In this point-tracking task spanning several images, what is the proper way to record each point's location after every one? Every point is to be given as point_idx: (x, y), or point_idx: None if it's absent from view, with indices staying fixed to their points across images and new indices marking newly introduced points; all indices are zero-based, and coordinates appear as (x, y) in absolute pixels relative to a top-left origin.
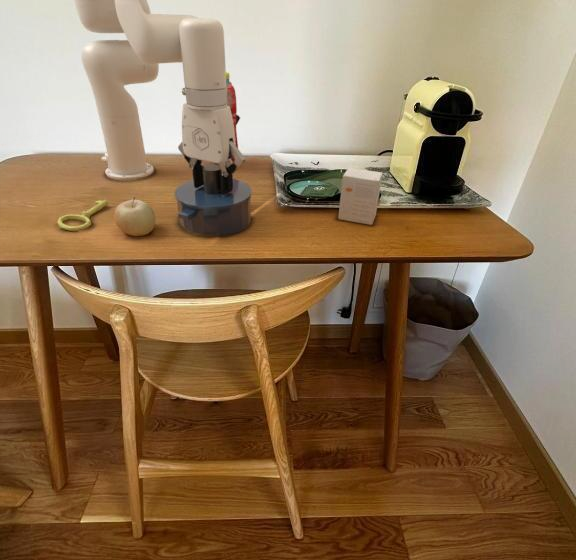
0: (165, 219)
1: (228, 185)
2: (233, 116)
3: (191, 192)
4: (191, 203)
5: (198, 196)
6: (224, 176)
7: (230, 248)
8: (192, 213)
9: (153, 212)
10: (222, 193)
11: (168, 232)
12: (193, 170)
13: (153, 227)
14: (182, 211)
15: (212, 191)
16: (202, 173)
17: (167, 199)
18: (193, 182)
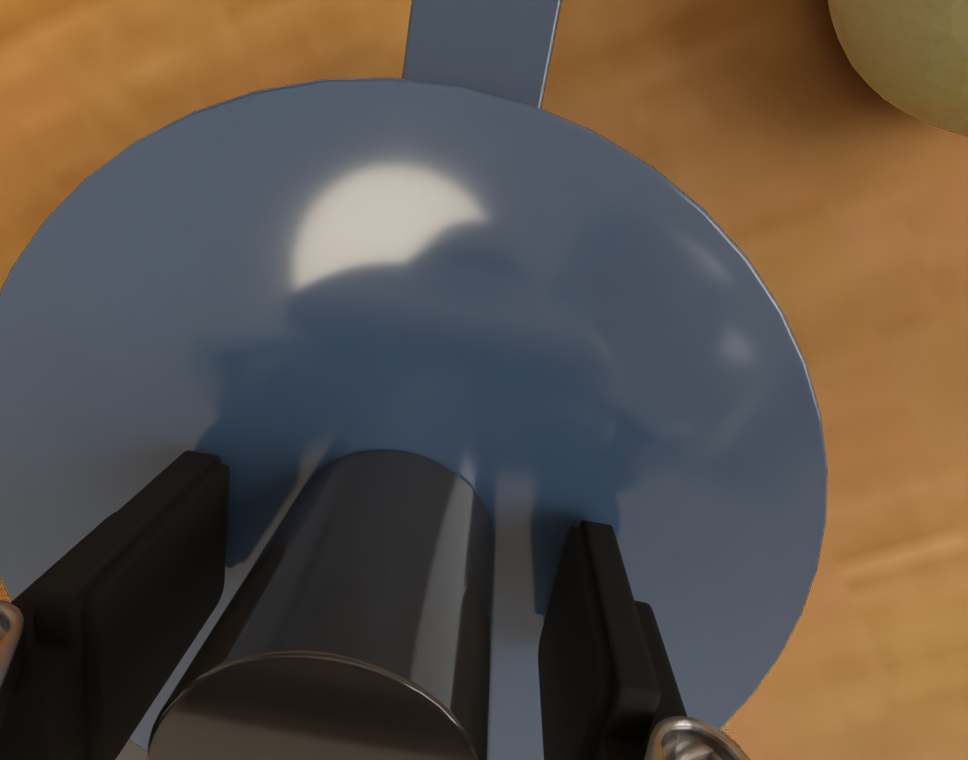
0: (814, 300)
1: (82, 539)
2: None
3: (602, 422)
4: (448, 116)
5: (472, 349)
6: (39, 618)
7: (109, 26)
8: (409, 35)
9: (905, 12)
10: (202, 455)
11: (697, 97)
12: (637, 684)
13: None
14: (537, 26)
15: (340, 469)
16: (555, 731)
17: (925, 598)
18: (698, 662)
